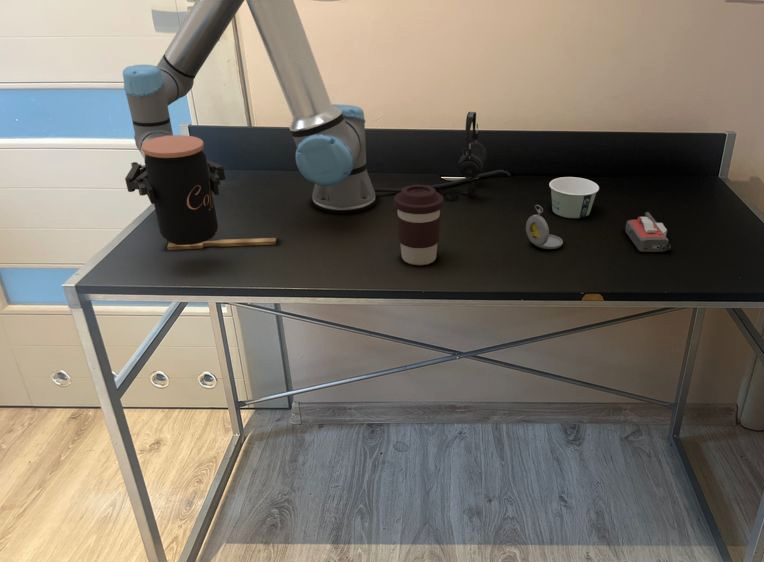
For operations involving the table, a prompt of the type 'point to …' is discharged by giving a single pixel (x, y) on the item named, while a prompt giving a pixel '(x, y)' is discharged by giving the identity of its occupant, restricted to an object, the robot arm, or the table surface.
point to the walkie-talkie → (648, 234)
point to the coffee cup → (418, 223)
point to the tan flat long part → (225, 243)
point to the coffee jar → (181, 188)
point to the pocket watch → (541, 232)
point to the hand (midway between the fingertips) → (184, 192)
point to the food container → (572, 196)
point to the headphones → (471, 153)
